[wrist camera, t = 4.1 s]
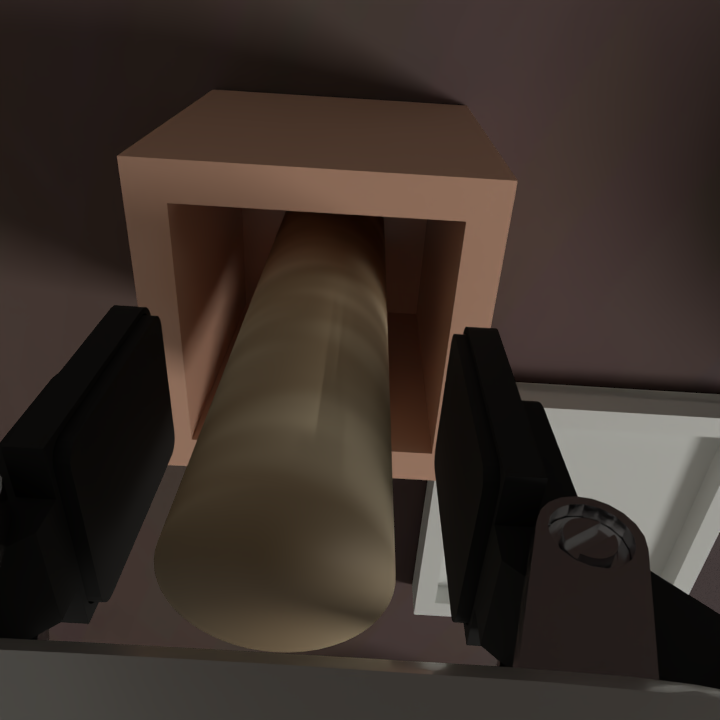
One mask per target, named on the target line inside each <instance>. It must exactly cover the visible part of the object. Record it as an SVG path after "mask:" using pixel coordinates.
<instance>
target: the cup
mask: <svg viewBox="0 0 720 720" xmlns="http://www.w3.org/2000/svg"><path fill="white" fill-rule="evenodd" d="M117 161H118V168H119V175H120V182H121V189H122V196H123V203H124V210H125V217H126V224H127V232H128V239H129V246H130V253H131V260H132V267H133V274H134V281H135V288H136V295H137V302H138V307H147V308H148V309H149V311H150V313H151V316H158V317H159V318H160V320H161V326H162V334H163V342H164V350H165V358H166V367H167V375H168V383H169V391H170V399H171V408H172V416H173V424H174V432H175V444H174V450H173V453H172V456H171V459H170V461H169V463H168V465H177V466H187V465H188V463H189V460H190V457H191V455H192V452H193V450H194V447H195V444H196V442H197V439H198V437H199V434H200V432H201V429H202V426H203V424H204V421H205V419H206V416H207V413H208V411H209V408H210V406H211V403H212V401H213V398H214V395H215V393H216V390H217V388H218V385H219V383H220V380H221V377H222V375H223V372H224V370H225V367H226V364H227V362H228V359H229V357H230V354H231V352H232V349H233V346H234V344H235V341H236V339H237V336H238V333H239V331H240V328H241V326H242V323H243V321H244V318H245V315H246V313H247V310H248V308H249V305H250V303H251V300H252V297H253V295H254V292H255V290H256V287H257V284H258V282H259V279H260V277H261V274H262V272H263V269H264V266H265V264H266V261H267V259H268V256H269V253H270V251H271V248H272V246H273V243H274V241H275V238H276V235H277V233H278V230H279V228H280V225H281V223H282V220H283V217H284V215H285V212H286V211H302V212H318V213H335V214H351V215H367V216H383V219H384V234H385V265H386V295H387V326H388V356H389V387H390V418H391V448H392V478H399V479H416V480H433V481H436V478H435V469H434V457H435V447H436V441H437V434H438V427H439V421H440V414H441V407H442V401H443V394H444V387H445V381H446V374H447V367H448V361H449V354H450V347H451V341H452V337H453V334H463V332H464V329H465V327H479V328H491V323H492V317H493V312H494V306H495V301H496V296H497V290H498V285H499V279H500V274H501V268H502V263H503V258H504V252H505V247H506V241H507V236H508V231H509V225H510V220H511V214H512V209H513V204H514V198H515V193H516V187H517V182H518V181H517V179H516V178H515V176H514V175H513V173H512V172H511V170H510V169H509V167H508V166H507V164H506V163H505V161H504V160H503V159H502V157H501V156H500V154H499V153H498V151H497V150H496V148H495V147H494V145H493V144H492V142H491V141H490V139H489V138H488V136H487V135H486V133H485V132H484V131H483V129H482V128H481V126H480V125H479V123H478V122H477V120H476V119H475V117H474V116H473V114H472V113H471V111H470V110H469V108H468V107H467V106H465V105H449V104H434V103H418V102H402V101H386V100H371V99H355V98H339V97H323V96H308V95H292V94H276V93H260V92H245V91H229V90H211V91H210V92H208V93H207V94H206V95H204V96H203V97H201V98H200V99H198V100H197V101H195V102H194V103H193V104H191V105H190V106H188V107H187V108H185V109H184V110H182V111H181V112H180V113H178V114H177V115H175V116H174V117H172V118H171V119H169V120H168V121H166V122H165V123H164V124H162V125H161V126H159V127H158V128H156V129H155V130H153V131H152V132H151V133H149V134H148V135H146V136H145V137H143V138H142V139H140V140H139V141H138V142H136V143H135V144H133V145H132V146H130V147H129V148H127V149H126V150H124V151H123V152H122V153H120V154H119V155H117Z"/></svg>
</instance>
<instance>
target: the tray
mask: <svg viewBox="0 0 720 720" xmlns="http://www.w3.org/2000/svg"><path fill="white" fill-rule="evenodd" d="M516 385H517V388H518V391H519V394H520V397H521V400H525V401H538V402H540V403H541V404H542V406H543V407H544V410H545V412H546V415H547V418H548V420H549V423H550V425H551V428H552V431H553V433H554V436H555V438H556V441H557V444H558V446H559V449H560V452H561V454H562V457H563V459H564V462H565V465H566V467H567V470H568V472H569V475H570V478H571V480H572V483H573V485H574V488H575V491H576V493H577V496H578V497H584V498H591V499H595V500H597V501H600V502H603V503H606V504H609V505H610V506H612V507H614V508H616V509H617V510H619V511H621V512H623V513H624V514H625V515H626V516H627V517H629V518H630V519H631V520H632V521H633V522H634V523H635V524H636V525H637V526H638V527H639V529H640V530H641V532H642V533H643V535H644V536H645V539H646V542H647V546H648V549H649V560H650V571H652V572H653V573H655V574H657V575H658V576H660V577H661V578H663V579H664V580H666V581H668V582H669V583H671V584H672V585H674V586H676V587H677V588H679V589H680V590H682V591H683V592H685V593H687V594H688V595H689V593H690V591H691V589H692V587H693V585H694V583H695V581H696V579H697V577H698V575H699V573H700V571H701V569H702V567H703V565H704V563H705V561H706V558H707V556H708V554H709V552H710V550H711V548H712V546H713V544H714V542H715V540H716V538H717V536H718V534H719V532H720V394H707V393H690V392H673V391H657V390H640V389H623V388H607V387H590V386H573V385H557V384H540V383H523V382H516ZM412 590H413V608H414V614H416V615H434V616H451V610H450V601H449V592H448V583H447V575H446V566H445V557H444V548H443V540H442V531H441V522H440V513H439V505H438V496H437V487H436V481H433V480H428V481H427V488H426V495H425V502H424V508H423V515H422V522H421V529H420V536H419V542H418V549H417V556H416V563H415V570H414V576H413V583H412Z"/></svg>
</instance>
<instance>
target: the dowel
mask: <svg viewBox="0 0 720 720" xmlns="http://www.w3.org/2000/svg"><path fill="white" fill-rule="evenodd" d="M154 569H155V574H156V578H157V582H158V584H159V587H160V589H161V591H162V593H163V594H164V596H165V597H166V599H167V601H168V602H169V603H170V604H171V606H172V607H173V608H174V609H175V610H176V611H177V612H178V613H179V614H180V615H181V616H182V617H183V618H185V619H186V620H187V621H188V622H190V623H191V624H193V625H194V626H195V627H197V628H198V629H200V630H202V631H204V632H205V633H207V634H209V635H211V636H213V637H216V638H218V639H220V640H223V641H225V642H228V643H231V644H234V645H238V646H241V647H245V648H249V649H255V650H261V651H270V652H303V651H311V650H317V649H322V648H326V647H330V646H333V645H336V644H339V643H342V642H344V641H347V640H349V639H351V638H353V637H355V636H357V635H358V634H360V633H362V632H363V631H365V630H366V629H367V628H369V627H370V626H371V625H372V624H374V623H375V622H376V621H377V620H378V619H379V617H380V616H381V615H382V614H383V613H384V611H385V610H386V608H387V607H388V605H389V603H390V601H391V598H392V596H393V593H394V588H395V578H396V570H395V540H394V509H393V479H392V448H391V418H390V387H389V356H388V326H387V295H386V265H385V234H384V219H383V216H367V215H351V214H335V213H318V212H302V211H286V212H285V215H284V217H283V220H282V223H281V225H280V228H279V230H278V233H277V235H276V238H275V241H274V243H273V246H272V248H271V251H270V253H269V256H268V259H267V261H266V264H265V266H264V269H263V272H262V274H261V277H260V279H259V282H258V284H257V287H256V290H255V292H254V295H253V297H252V300H251V303H250V305H249V308H248V310H247V313H246V315H245V318H244V321H243V323H242V326H241V328H240V331H239V333H238V336H237V339H236V341H235V344H234V346H233V349H232V352H231V354H230V357H229V359H228V362H227V364H226V367H225V370H224V372H223V375H222V377H221V380H220V383H219V385H218V388H217V390H216V393H215V395H214V398H213V401H212V403H211V406H210V408H209V411H208V413H207V416H206V419H205V421H204V424H203V426H202V429H201V432H200V434H199V437H198V439H197V442H196V444H195V447H194V450H193V452H192V455H191V457H190V460H189V463H188V465H187V468H186V470H185V473H184V475H183V478H182V481H181V483H180V486H179V488H178V491H177V493H176V496H175V499H174V501H173V504H172V506H171V509H170V512H169V514H168V517H167V519H166V522H165V524H164V527H163V530H162V532H161V535H160V537H159V540H158V543H157V546H156V549H155V556H154Z"/></svg>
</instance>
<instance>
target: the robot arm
mask: <svg viewBox="0 0 720 720" xmlns="http://www.w3.org/2000/svg"><path fill="white" fill-rule="evenodd" d="M174 444H175V432H174V424H173V416H172V408H171V399H170V391H169V383H168V375H167V367H166V358H165V350H164V342H163V334H162V326H161V320H160V318H159V317H158V316H151V313H150V311H149V309H148V308H147V307H133V306H117V305H114V306H113V307H112V308H111V309H110V310H109V311H108V313H107V314H106V315H105V316H104V317H103V319H102V320H101V321H100V322H99V324H98V325H97V326H96V327H95V329H94V330H93V331H92V332H91V334H90V335H89V336H88V337H87V339H86V340H85V341H84V342H83V344H82V345H81V346H80V347H79V349H78V350H77V351H76V352H75V354H74V355H73V356H72V357H71V359H70V360H69V361H68V362H67V364H66V365H65V366H64V367H63V369H62V370H61V371H60V372H59V374H57V375H55V376H54V377H53V378H52V379H51V380H50V382H49V383H48V384H47V385H46V386H45V388H44V389H43V390H42V391H41V393H40V394H39V395H38V396H37V398H36V399H35V400H34V401H33V403H32V404H31V405H30V406H29V407H28V409H27V410H26V411H25V412H24V414H23V415H22V416H21V417H20V419H19V420H18V421H17V422H16V424H15V425H14V426H13V427H12V428H11V430H10V431H9V432H8V433H7V435H6V436H5V437H4V438H3V440H2V441H1V442H0V720H720V614H718V613H717V612H715V611H714V610H712V609H710V608H709V607H707V606H706V605H704V604H702V603H701V602H699V601H698V600H696V599H695V598H693V597H691V596H690V595H688V594H687V593H685V592H683V591H682V590H680V589H679V588H677V587H676V586H674V585H672V584H671V583H669V582H668V581H666V580H664V579H663V578H661V577H660V576H658V575H657V574H655V573H653V572H652V571H650V560H649V549H648V546H647V542H646V539H645V536H644V535H643V533H642V532H641V530H640V529H639V527H638V526H637V525H636V524H635V523H634V522H633V521H632V520H631V519H630V518H629V517H627V516H626V515H625V514H624V513H623V512H621V511H619V510H617V509H616V508H614V507H612V506H610V505H609V504H606V503H603V502H600V501H597V500H595V499H591V498H584V497H578V496H577V493H576V491H575V488H574V485H573V483H572V480H571V478H570V475H569V472H568V470H567V467H566V465H565V462H564V459H563V457H562V454H561V452H560V449H559V446H558V444H557V441H556V438H555V436H554V433H553V431H552V428H551V425H550V423H549V420H548V418H547V415H546V412H545V410H544V407H543V406H542V404H541V403H540V402H538V401H525V400H521V397H520V394H519V391H518V388H517V385H516V382H515V379H514V376H513V373H512V370H511V367H510V364H509V361H508V358H507V355H506V352H505V350H504V347H503V344H502V341H501V338H500V335H499V332H498V330H497V329H496V328H479V327H465V329H464V332H463V334H453V337H452V341H451V347H450V354H449V361H448V367H447V374H446V381H445V387H444V394H443V401H442V407H441V414H440V421H439V427H438V434H437V441H436V447H435V457H434V469H435V478H436V487H437V496H438V505H439V513H440V522H441V531H442V540H443V548H444V557H445V566H446V575H447V583H448V592H449V601H450V610H451V617H452V621H453V622H460V623H464V629H465V637H466V644H467V645H474V646H482V647H483V648H484V649H486V650H487V651H488V652H489V653H490V654H492V655H493V656H494V657H495V658H496V659H497V660H498V661H497V666H481V665H465V664H449V663H433V662H417V661H401V660H384V659H368V658H352V657H336V656H319V655H302V654H284V653H267V652H249V651H232V650H214V649H196V648H178V647H160V646H142V645H124V644H106V643H87V642H67V641H49V629H50V628H51V627H53V626H55V625H57V624H58V623H60V622H68V623H85V624H89V622H90V620H91V618H92V616H93V613H94V611H95V609H96V607H97V605H98V602H107V601H108V600H109V599H110V597H111V596H112V594H113V591H114V589H115V587H116V584H117V582H118V580H119V577H120V575H121V573H122V570H123V568H124V566H125V563H126V561H127V559H128V556H129V554H130V552H131V549H132V547H133V545H134V542H135V540H136V538H137V535H138V533H139V531H140V528H141V526H142V524H143V521H144V519H145V517H146V514H147V512H148V510H149V507H150V505H151V503H152V500H153V498H154V496H155V493H156V491H157V489H158V486H159V484H160V482H161V480H162V477H163V475H164V473H165V470H166V468H167V466H168V463H169V461H170V459H171V456H172V453H173V450H174Z"/></svg>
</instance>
